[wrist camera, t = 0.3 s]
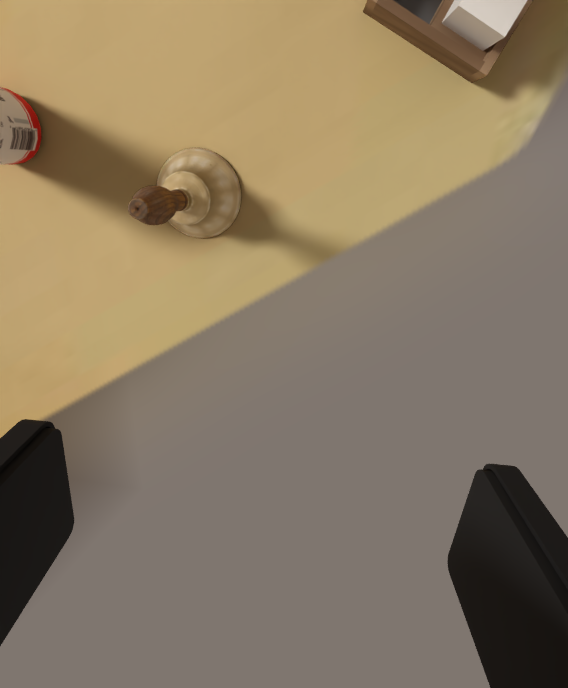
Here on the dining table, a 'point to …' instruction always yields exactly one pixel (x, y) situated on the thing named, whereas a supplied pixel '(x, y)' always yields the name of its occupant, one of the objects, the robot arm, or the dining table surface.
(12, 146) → the beer can
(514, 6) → the block
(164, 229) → the dining table surface
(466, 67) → the tray
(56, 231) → the dining table surface
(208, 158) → the hand bell
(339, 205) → the dining table surface
